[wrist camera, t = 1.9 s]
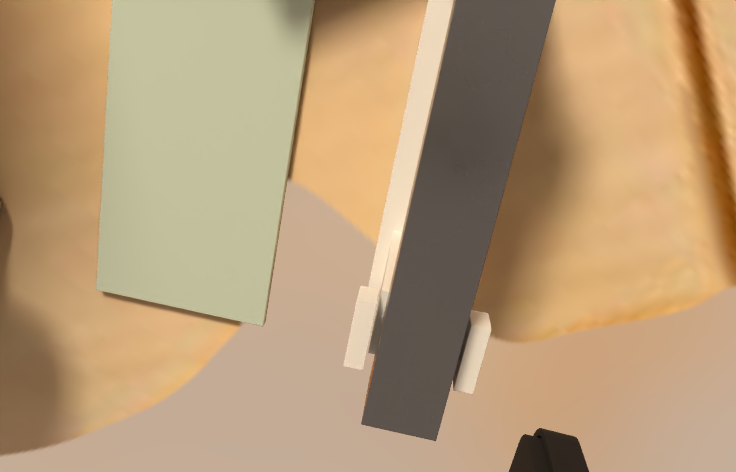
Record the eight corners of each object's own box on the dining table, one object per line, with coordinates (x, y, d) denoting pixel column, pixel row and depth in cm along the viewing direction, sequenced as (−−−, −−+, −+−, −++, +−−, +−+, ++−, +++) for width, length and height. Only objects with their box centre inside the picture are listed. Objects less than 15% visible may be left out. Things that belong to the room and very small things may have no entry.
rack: (447, -111, 30) (454, -175, 20) (562, -89, 30) (626, -142, 20) (366, 279, 37) (341, 376, 27) (460, 299, 36) (469, 404, 26)
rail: (495, -190, 21) (505, -222, 18) (586, -172, 21) (610, -202, 18) (368, 383, 28) (361, 424, 26) (435, 398, 28) (435, 441, 25)
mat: (127, -174, 30) (122, -178, 30) (335, -133, 30) (333, -136, 30) (101, 285, 38) (96, 289, 38) (265, 321, 38) (262, 326, 37)
